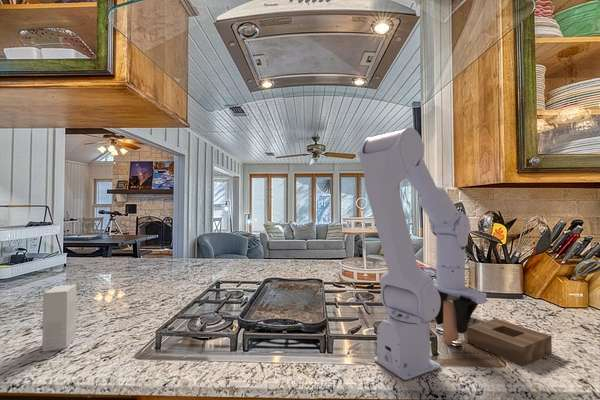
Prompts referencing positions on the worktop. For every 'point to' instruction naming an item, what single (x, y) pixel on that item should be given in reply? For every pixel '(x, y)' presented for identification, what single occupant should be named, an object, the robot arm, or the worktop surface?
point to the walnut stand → (510, 341)
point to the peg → (449, 323)
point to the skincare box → (59, 317)
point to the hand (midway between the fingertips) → (450, 327)
